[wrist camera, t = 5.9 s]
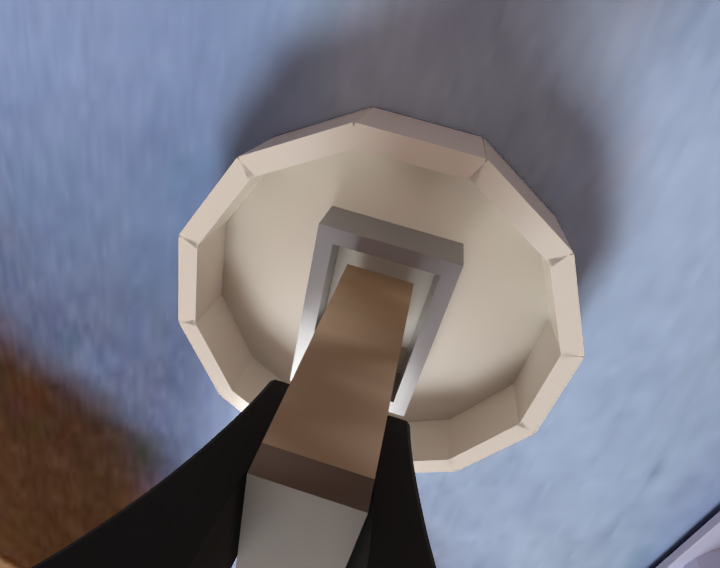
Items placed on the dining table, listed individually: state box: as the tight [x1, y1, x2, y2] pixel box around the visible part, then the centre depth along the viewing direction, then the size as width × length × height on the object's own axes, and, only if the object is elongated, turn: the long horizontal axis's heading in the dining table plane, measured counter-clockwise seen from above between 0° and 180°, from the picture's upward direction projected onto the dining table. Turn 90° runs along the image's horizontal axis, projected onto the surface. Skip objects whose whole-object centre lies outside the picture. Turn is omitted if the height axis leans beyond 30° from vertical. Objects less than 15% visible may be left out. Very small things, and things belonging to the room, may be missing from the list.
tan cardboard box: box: [236, 264, 414, 568], centre depth 11 cm, size 2×4×7 cm, turn 167°
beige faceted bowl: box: [178, 107, 584, 473], centre depth 15 cm, size 12×12×2 cm
